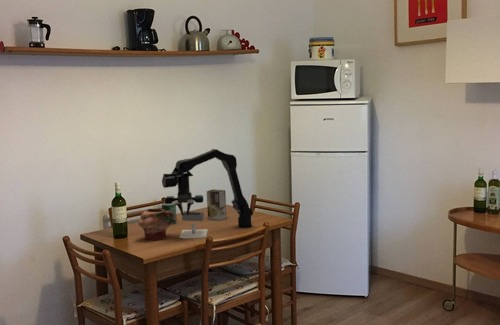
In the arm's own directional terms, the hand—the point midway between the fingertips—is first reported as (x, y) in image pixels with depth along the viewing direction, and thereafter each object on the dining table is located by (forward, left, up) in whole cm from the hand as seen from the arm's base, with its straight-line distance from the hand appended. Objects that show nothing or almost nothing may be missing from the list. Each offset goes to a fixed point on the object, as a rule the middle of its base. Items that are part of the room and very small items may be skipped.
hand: (185, 216), depth 277 cm
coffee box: (-14, -35, -10) cm, 39 cm away
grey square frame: (-4, 0, -1) cm, 4 cm away
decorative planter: (+14, +2, -10) cm, 17 cm away
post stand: (-4, 0, -10) cm, 10 cm away
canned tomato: (+12, -28, -10) cm, 32 cm away
